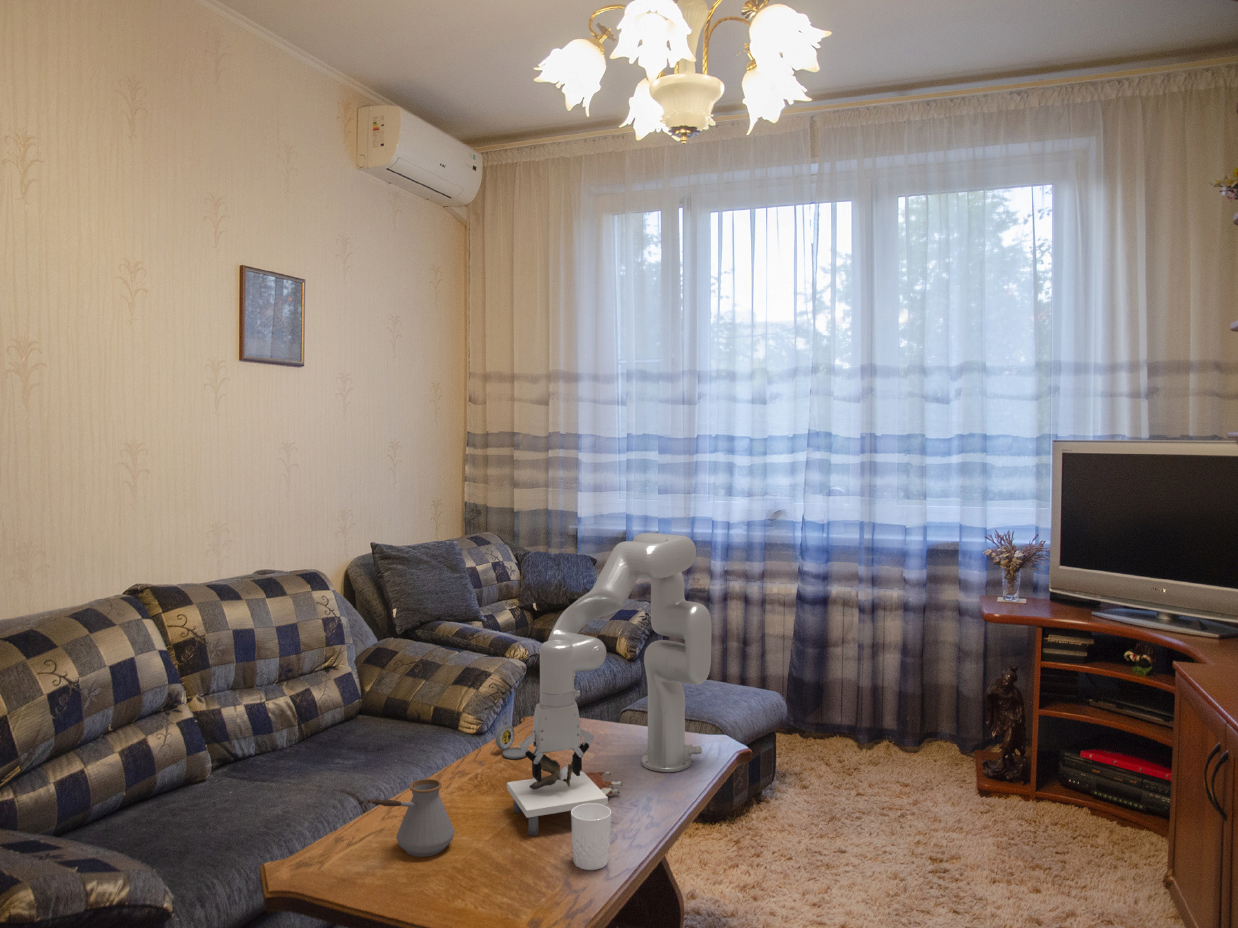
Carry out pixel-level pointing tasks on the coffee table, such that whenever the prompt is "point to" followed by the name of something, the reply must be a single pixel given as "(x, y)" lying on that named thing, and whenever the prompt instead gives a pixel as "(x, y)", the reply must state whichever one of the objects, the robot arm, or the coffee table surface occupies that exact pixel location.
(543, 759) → the eagle figurine
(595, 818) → the white cup
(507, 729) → the pocket watch
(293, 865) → the coffee table surface
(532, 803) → the display shelf
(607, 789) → the bull figurine
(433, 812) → the coffee pot
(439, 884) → the coffee table surface
